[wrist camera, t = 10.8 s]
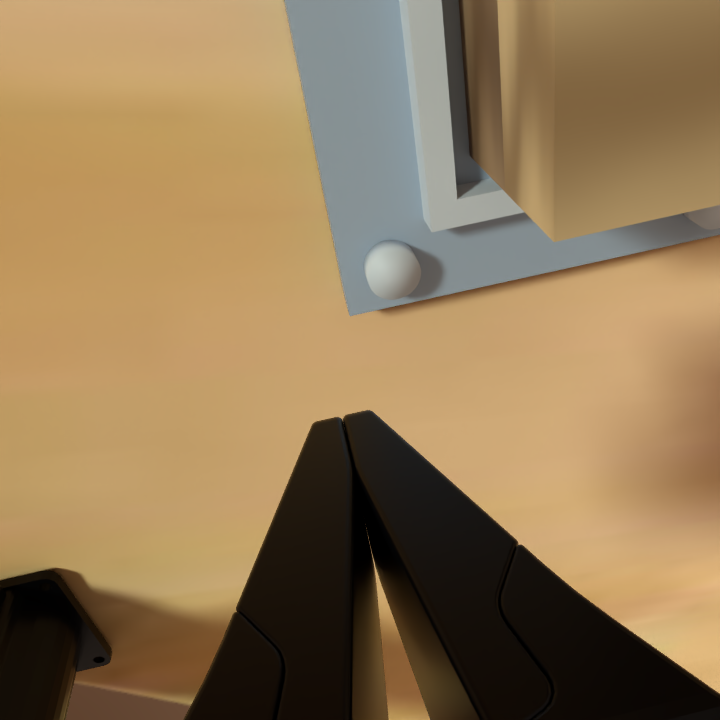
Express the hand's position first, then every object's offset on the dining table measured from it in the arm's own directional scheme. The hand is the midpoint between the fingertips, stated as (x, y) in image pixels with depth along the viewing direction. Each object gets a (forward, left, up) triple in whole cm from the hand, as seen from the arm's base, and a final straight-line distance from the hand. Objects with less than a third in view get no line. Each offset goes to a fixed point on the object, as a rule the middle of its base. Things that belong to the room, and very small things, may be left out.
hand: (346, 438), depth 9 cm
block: (+2, -7, -11) cm, 13 cm away
